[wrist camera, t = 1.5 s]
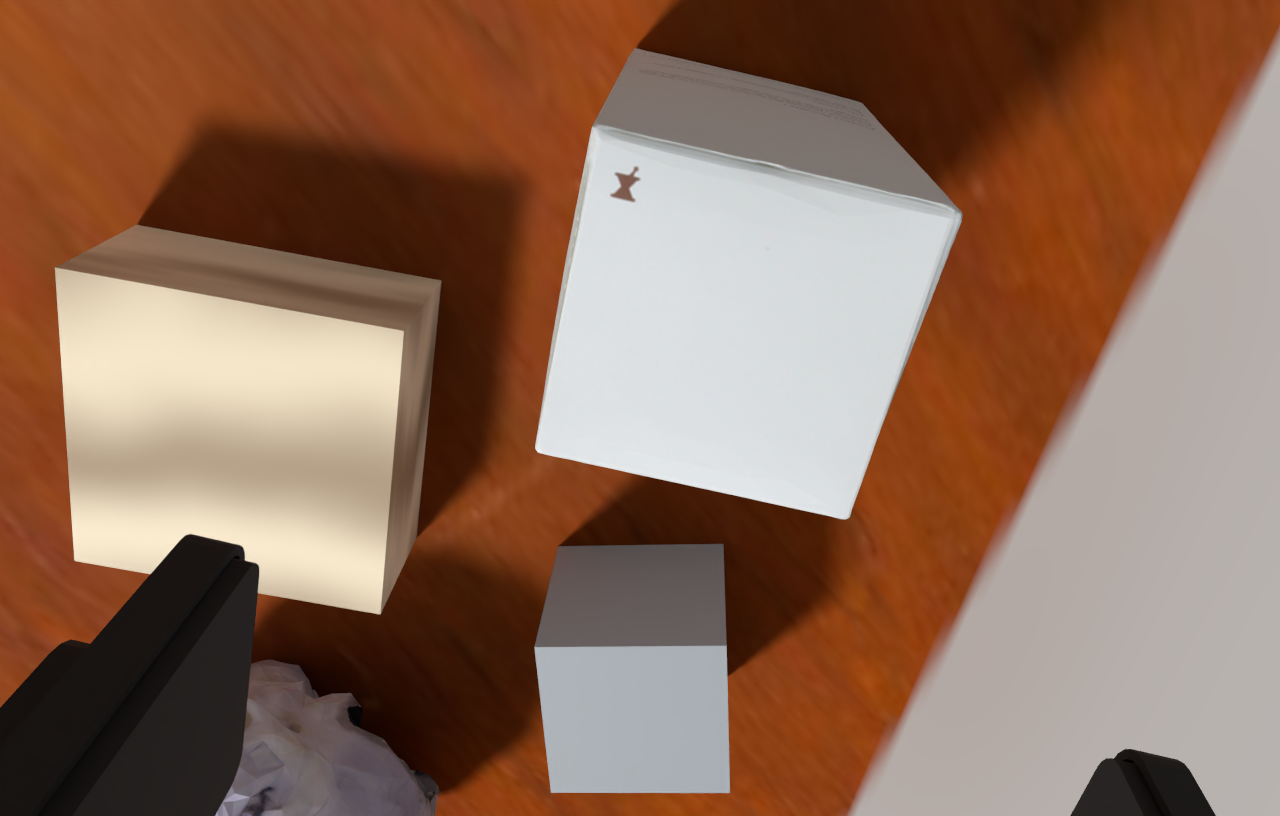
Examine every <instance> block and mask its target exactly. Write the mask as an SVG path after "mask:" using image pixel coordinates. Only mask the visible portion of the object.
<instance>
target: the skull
mask: <svg viewBox="0 0 1280 816" xmlns="http://www.w3.org/2000/svg"><path fill="white" fill-rule="evenodd" d="M361 717H362V707H361V706H360V705H359V703H358V702H357V701H356V699H355V698H354V697H353V695H352V694H351V693H338V694H329V695H326V696H323V697H319V695H318V694H317V693H316V691H315V690H312V688H311V685H310V682H309V679H308V678H307V677H306V676H305V674H304V673H303V671H302V669H301V668H300V666H299V665H293V664H287V663H283V662H279V661H275V660H271V659H269V660H262V661H259V662H256V663H253V664H251V668H250V678H249V689H248V699H247V710H246V720H245V730H244V741H243V751H242V757H241V761H240V765H239V768H238V771H237V774H236V777H235V779H234V782H233V784H232V786H231V788H230V790H229V792H228V793H227V795H226V797H225V799H224V800H223V802H222V804H221V806H220V808H219V809H218V811H217V813H216V815H215V816H435V812H436V803H437V796H438V794H439V792H440V791H439V788H438V785H437V784H436V782H435V781H434V779H433V778H432V777H431V776H429V775H428V774H426V773H421V772H419V771H417V770H410V768H409V767H408V765H407V764H406V763H405V761H403V760H401V759H400V758H398V757H397V756H396V755H395V753H394V752H393V751H392V750H391V748H390V747H389V746H388V744H387V743H386V742H385V740H384V739H383V738H381V737H378V736H376V735H374V734H372V733H370V732H367V731H365V730H363V729H361V728H360V722H361Z"/></svg>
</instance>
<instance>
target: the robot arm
mask: <svg viewBox="0 0 1280 816" xmlns="http://www.w3.org/2000/svg"><path fill="white" fill-rule="evenodd" d="M258 584H259V565H258V564H257V563H253V562H249V561H245V552H244V548H243V547H242V546H241V545H237V544H233V543H228V542H224V541H220V540H215V539H211V538H206V537H202V536H198V535H193V534H188V535H185V536H184V537H183V538H182V539H181V540H180V541H179V542H178V543H177V544H176V545H175V547H174V548H173V549H172V550H171V551H170V552H169V554H168V555H167V556H166V557H165V558H164V559H163V561H162V562H161V563H160V564H159V565H158V566H157V567H156V569H155V570H154V571H153V572H152V573H151V574H150V576H149V577H148V578H147V579H146V580H145V581H144V582H143V584H142V585H141V586H140V587H139V588H138V589H137V591H136V592H135V593H134V594H133V595H132V596H131V598H130V599H129V600H128V601H127V602H126V603H125V604H124V606H123V607H122V608H121V609H120V610H119V611H118V613H117V614H116V615H115V616H114V617H113V618H112V620H111V621H110V622H109V623H108V624H107V625H106V626H105V628H104V629H103V630H102V631H101V632H100V633H99V635H98V636H97V637H96V638H95V639H94V640H93V642H92V643H91V644H88V643H84V642H79V641H75V640H69V641H66V642H64V643H61V644H60V645H59V646H58V647H56V648H55V649H54V650H53V651H52V652H51V653H50V654H49V655H48V656H47V657H46V658H45V659H44V660H43V661H42V662H41V664H40V665H39V666H38V667H37V668H36V669H35V670H34V671H33V672H32V673H31V675H30V676H29V677H28V678H27V679H26V680H25V681H24V682H23V683H22V684H21V686H20V687H19V688H18V689H17V690H16V691H15V692H14V693H13V694H12V695H11V697H10V698H9V699H8V700H7V701H6V702H5V703H4V704H3V705H2V706H1V708H0V816H215V815H216V813H217V811H218V809H219V808H220V806H221V804H222V802H223V800H224V799H225V797H226V795H227V793H228V792H229V790H230V788H231V786H232V784H233V782H234V779H235V777H236V774H237V771H238V768H239V765H240V761H241V757H242V751H243V741H244V730H245V720H246V710H247V699H248V689H249V678H250V668H251V657H252V647H253V636H254V626H255V615H256V605H257V595H258ZM1071 816H1216V815H1215V814H1214V812H1213V810H1212V809H1211V807H1210V805H1209V803H1208V801H1207V800H1206V798H1205V796H1204V794H1203V793H1202V791H1201V789H1200V787H1199V786H1198V784H1197V782H1196V781H1195V779H1194V777H1193V775H1192V774H1191V772H1190V770H1189V769H1188V768H1187V767H1186V765H1185V764H1184V763H1182V762H1180V761H1179V760H1176V759H1171V758H1167V757H1163V756H1159V755H1154V754H1149V753H1145V752H1141V751H1136V750H1132V749H1125V750H1123V751H1121V752H1120V753H1118V754H1117V756H1116V757H1115V758H1114V759H1111V758H1110V759H1105V760H1103V761H1102V762H1101V763H1100V764H1099V766H1098V767H1097V769H1096V771H1095V772H1094V774H1093V776H1092V778H1091V780H1090V782H1089V784H1088V785H1087V787H1086V789H1085V791H1084V793H1083V794H1082V796H1081V798H1080V800H1079V801H1078V803H1077V805H1076V807H1075V809H1074V810H1073V812H1072V814H1071Z"/></svg>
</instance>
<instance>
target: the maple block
mask: <svg viewBox="0 0 1280 816" xmlns="http://www.w3.org/2000/svg"><path fill="white" fill-rule="evenodd" d="M55 274H56V289H57V304H58V319H59V335H60V350H61V365H62V380H63V395H64V410H65V425H66V440H67V455H68V470H69V485H70V500H71V515H72V530H73V545H74V560H75V561H79V562H84V563H90V564H96V565H101V566H107V567H113V568H118V569H124V570H130V571H136V572H141V573H147V574H151V573H152V572H153V571H154V570H155V569H156V567H157V566H158V565H159V564H160V563H161V562H162V561H163V559H164V558H165V557H166V556H167V555H168V554H169V552H170V551H171V550H172V549H173V548H174V547H175V545H176V544H177V543H178V542H179V541H180V540H181V539H182V538H183V537H184V536H185V535H188V534H193V535H198V536H202V537H206V538H211V539H215V540H220V541H224V542H228V543H233V544H237V545H241V546H242V547H243V548H244V552H245V561H249V562H253V563H257V564H258V565H259V584H258V593H261V594H266V595H272V596H278V597H283V598H289V599H295V600H300V601H306V602H312V603H318V604H323V605H329V606H335V607H340V608H346V609H352V610H357V611H363V612H369V613H374V614H381V612H382V610H383V608H384V606H385V604H386V602H387V600H388V597H389V595H390V593H391V591H392V589H393V587H394V585H395V583H396V580H397V578H398V576H399V574H400V572H401V570H402V568H403V566H404V564H405V561H406V559H407V557H408V555H409V553H410V551H411V549H412V547H413V544H414V542H415V540H416V538H417V528H418V518H419V508H420V497H421V487H422V477H423V466H424V456H425V445H426V435H427V425H428V414H429V404H430V394H431V383H432V373H433V363H434V352H435V342H436V332H437V321H438V311H439V301H440V290H441V280H436V279H430V278H425V277H419V276H414V275H408V274H403V273H398V272H392V271H387V270H381V269H376V268H370V267H365V266H359V265H354V264H348V263H343V262H338V261H332V260H327V259H321V258H316V257H310V256H305V255H299V254H294V253H288V252H283V251H278V250H272V249H267V248H261V247H256V246H250V245H245V244H239V243H234V242H228V241H223V240H217V239H212V238H207V237H201V236H196V235H190V234H185V233H179V232H174V231H168V230H163V229H157V228H152V227H147V226H141V225H135V226H133V227H131V228H130V229H128V230H126V231H124V232H122V233H120V234H118V235H116V236H114V237H112V238H111V239H109V240H107V241H105V242H103V243H101V244H99V245H97V246H95V247H93V248H91V249H90V250H88V251H86V252H84V253H82V254H80V255H78V256H76V257H74V258H72V259H70V260H69V261H67V262H65V263H63V264H61V265H59V266H57V267H55Z"/></svg>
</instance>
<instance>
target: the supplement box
mask: <svg viewBox="0 0 1280 816" xmlns="http://www.w3.org/2000/svg"><path fill="white" fill-rule="evenodd" d="M961 222H962V212H961V211H960V210H959V209H958V208H957V207H956V206H955V205H954V203H953V202H952V201H951V200H950V199H949V198H948V196H947V195H946V194H945V193H944V192H943V191H942V190H941V189H940V188H939V187H938V186H937V184H936V183H935V182H934V181H933V180H932V179H931V178H930V177H929V175H928V174H927V173H926V172H925V171H924V170H923V169H922V168H921V167H920V166H919V165H918V164H917V163H916V162H915V160H914V159H913V158H912V157H911V156H910V155H909V154H908V153H907V152H906V151H905V150H904V148H903V147H902V146H901V145H900V144H899V143H898V142H897V141H896V140H895V139H894V138H893V137H892V136H891V135H890V134H889V132H888V131H887V130H886V129H885V128H884V127H883V126H882V125H881V124H880V123H879V122H878V120H877V119H876V118H875V117H874V115H873V114H872V113H871V112H870V111H869V110H868V109H867V108H866V107H865V106H864V104H863V103H861V102H858V101H854V100H851V99H847V98H843V97H840V96H836V95H832V94H828V93H825V92H821V91H817V90H813V89H809V88H805V87H800V86H796V85H792V84H788V83H784V82H780V81H776V80H771V79H767V78H763V77H759V76H754V75H750V74H746V73H741V72H737V71H732V70H728V69H724V68H719V67H715V66H711V65H706V64H702V63H698V62H694V61H689V60H685V59H681V58H676V57H672V56H668V55H663V54H658V53H654V52H649V51H645V50H641V49H634V50H633V51H632V53H631V54H630V56H629V58H628V60H627V62H626V64H625V66H624V68H623V70H622V72H621V74H620V75H619V77H618V79H617V81H616V83H615V85H614V87H613V89H612V90H611V92H610V94H609V96H608V98H607V100H606V102H605V104H604V105H603V107H602V109H601V111H600V113H599V115H598V117H597V119H596V120H595V122H594V124H593V126H592V131H591V135H590V139H589V144H588V150H587V155H586V160H585V165H584V170H583V175H582V180H581V185H580V190H579V195H578V201H577V206H576V211H575V216H574V221H573V227H572V232H571V237H570V242H569V247H568V252H567V258H566V263H565V268H564V274H563V280H562V286H561V292H560V297H559V303H558V309H557V315H556V321H555V327H554V332H553V338H552V344H551V351H550V357H549V364H548V370H547V377H546V383H545V390H544V396H543V402H542V409H541V415H540V421H539V427H538V433H537V438H536V446H535V449H536V450H537V452H538V453H542V454H546V455H550V456H555V457H559V458H565V459H570V460H574V461H579V462H583V463H588V464H592V465H597V466H602V467H606V468H611V469H615V470H620V471H624V472H629V473H633V474H638V475H642V476H647V477H652V478H656V479H661V480H666V481H670V482H675V483H679V484H684V485H689V486H693V487H698V488H702V489H707V490H712V491H716V492H721V493H726V494H730V495H735V496H739V497H744V498H749V499H753V500H758V501H762V502H767V503H771V504H776V505H780V506H785V507H789V508H794V509H798V510H803V511H808V512H812V513H817V514H822V515H826V516H831V517H835V518H839V519H848V518H849V517H850V514H851V511H852V508H853V505H854V502H855V499H856V497H857V494H858V491H859V488H860V485H861V483H862V480H863V477H864V474H865V471H866V468H867V466H868V463H869V460H870V457H871V454H872V451H873V449H874V446H875V443H876V440H877V437H878V435H879V432H880V429H881V427H882V424H883V422H884V419H885V417H886V414H887V411H888V409H889V406H890V404H891V401H892V399H893V396H894V394H895V391H896V388H897V386H898V383H899V381H900V378H901V375H902V373H903V370H904V368H905V365H906V363H907V360H908V357H909V355H910V352H911V350H912V347H913V344H914V342H915V339H916V337H917V334H918V332H919V329H920V326H921V324H922V321H923V319H924V316H925V313H926V311H927V308H928V306H929V303H930V301H931V298H932V296H933V293H934V290H935V288H936V285H937V283H938V280H939V278H940V275H941V272H942V270H943V267H944V265H945V262H946V260H947V257H948V254H949V252H950V249H951V247H952V244H953V242H954V239H955V237H956V234H957V232H958V229H959V227H960V224H961Z"/></svg>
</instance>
